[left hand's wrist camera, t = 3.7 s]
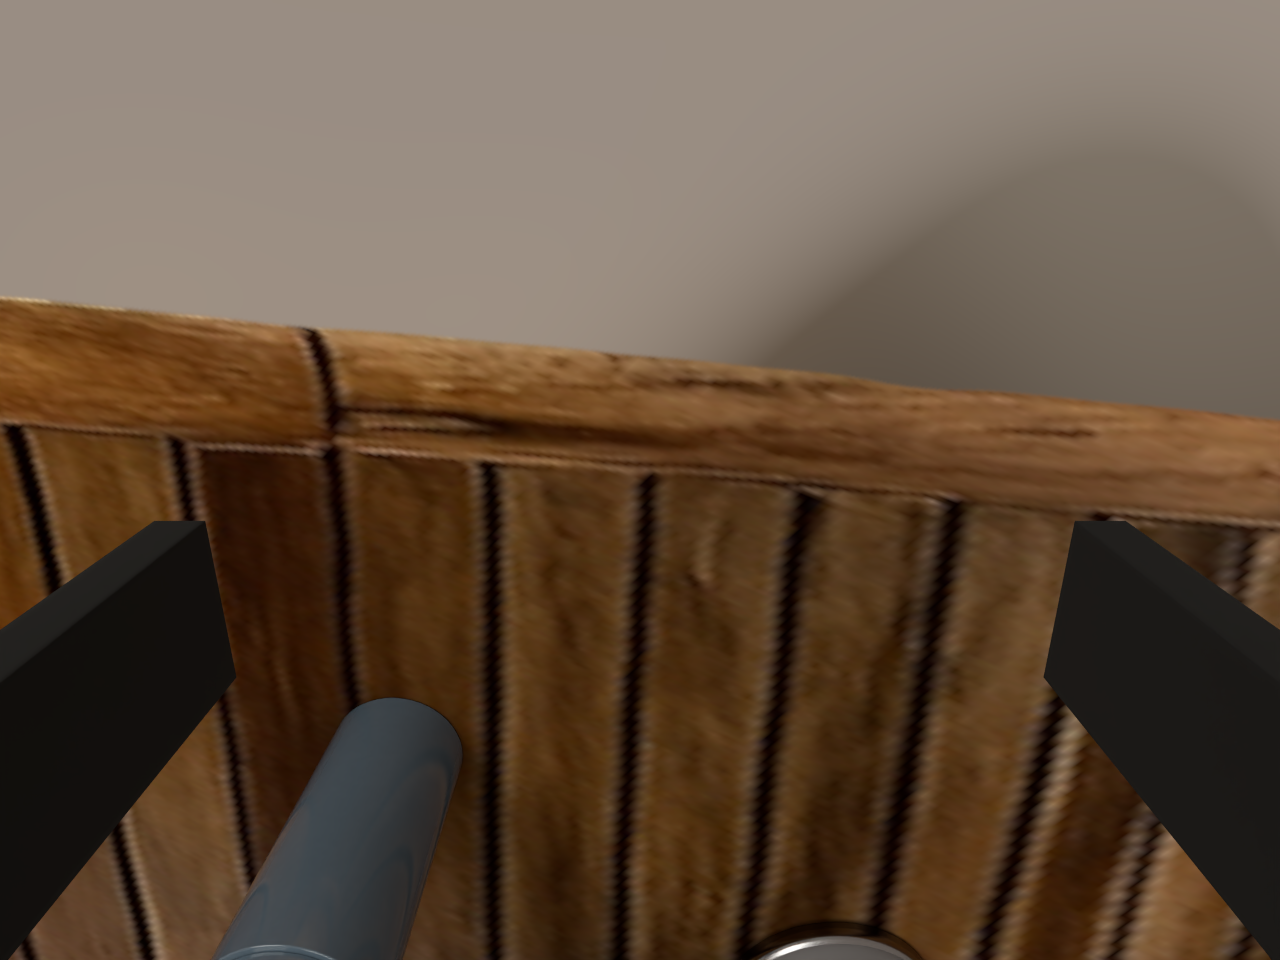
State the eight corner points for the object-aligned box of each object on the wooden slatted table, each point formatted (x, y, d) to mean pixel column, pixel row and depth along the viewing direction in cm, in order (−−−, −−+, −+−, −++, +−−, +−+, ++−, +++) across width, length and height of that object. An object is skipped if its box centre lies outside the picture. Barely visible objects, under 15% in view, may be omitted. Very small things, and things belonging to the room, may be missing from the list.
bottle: (368, 676, 49) (150, 1075, 27) (485, 733, 51) (368, 1157, 29) (313, 768, 52) (73, 1203, 30) (427, 820, 53) (278, 1273, 31)
